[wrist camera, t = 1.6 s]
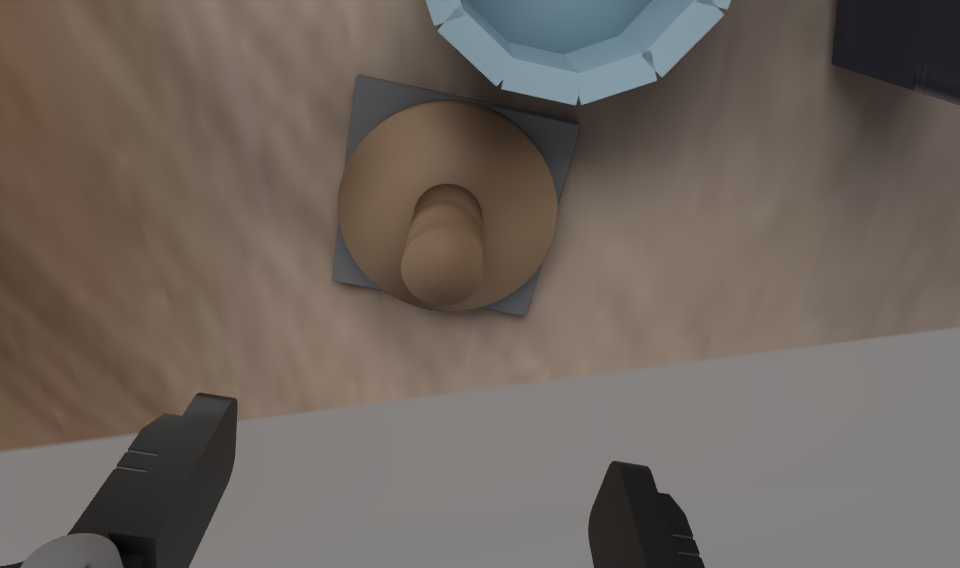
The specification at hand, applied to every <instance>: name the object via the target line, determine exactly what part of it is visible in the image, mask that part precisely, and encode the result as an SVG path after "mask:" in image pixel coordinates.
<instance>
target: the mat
mask: <svg viewBox="0 0 960 568" xmlns="http://www.w3.org/2000/svg"><path fill="white" fill-rule="evenodd" d="M433 100H460V101H467V102H472V103H476V104H479V105H483V106H486V107H488V108H490V109H492V110H495V111H497V112H499V113H501V114H502V115H504V116H506V117H507V118H509V119H511V120H512V121H513V122H514V123H516V124H517V125H518V126H519V127H521V128H522V129H523V130H524V131H525V132H526V133H527V134H528V135H529V136H530V138H531V139H532V140H533V141H534V142H535V144H536V145H537V147H538V148H539V150H540V151H541V153H542V155H543V157H544V159H545V160H546V162H547V165H548V168H549V170H550V173H551V176H552V179H553V182H554V186H555V191H556V196H557V207H558V203H559V200H560V196H561V193H562V189H563V186H564V182H565V179H566V175H567V172H568V168H569V165H570V161H571V158H572V154H573V151H574V147H575V144H576V140H577V137H578V133H579V130H580V124H579V122H575V121H570V120H566V119H561V118H557V117H552V116H547V115H543V114H538V113H533V112H529V111H524V110H520V109H515V108H510V107H506V106H501V105H496V104H492V103H487V102H483V101H478V100H473V99H469V98H464V97H459V96H455V95H450V94H446V93H441V92H436V91H432V90H427V89H422V88H418V87H413V86H409V85H404V84H399V83H395V82H390V81H385V80H381V79H376V78H372V77H367V76H362V75H358V76H357V77H356V83H355V91H354V99H353V108H352V116H351V124H350V133H349V141H348V149H347V158H346V166H347V164H348V162H349V160H350V158H351V157H352V155H353V153H354V151H355V150H356V148H357V147H358V145H359V144H360V143H361V141H362V140H363V138H364V137H365V136H366V135H367V134H368V133H369V132H370V131H371V130H372V129H373V128H374V127H375V126H376V125H377V124H378V123H380V122H381V121H382V120H384V119H385V118H386V117H388V116H390V115H391V114H393V113H395V112H397V111H398V110H401V109H403V108H406V107H408V106H411V105H414V104H418V103H422V102H425V101H433ZM346 166H345V168H346ZM540 267H541V265H540V266H539V268H538V269H537V271H536V272H535V273H534V274H533V275H532V276H531V277H530V278H529V280H528V281H527V282H525V283H524V284H523V285H522V286H521V287H519V288H518V289H517V290H516V291H514V292H513V293H511V294H509V295H508V296H506V297H504V298H502V299H500V300H498V301H496V302H494V303H491V304H488V305H486V306H483V307H479V308H485V309H490V310H496V311H501V312H506V313H512V314H517V315H523V316H527V312H528V309H529V305H530V302H531V298H532V295H533V291H534V288H535V284H536V281H537V277H538V274H539V270H540ZM332 281H337V282H343V283H348V284H354V285H359V286H365V287H370V288H375V289H381V288H380V287H378V286H377V285H376V284H375V283H374V282H373V281H371V280H370V279H369V278H368V277H367V276H366V274H365V273H364V272H363V271H362V270H361V269H360V267H359V266H358V265H357V263H356V262H355V261H354V259H353V257H352V256H351V254H350V252H349V250H348V248H347V246H346V243H345V241H344V238H343V235H342V232H341V227H340V223H339V224H338V233H337V241H336V249H335V258H334V266H333V274H332ZM381 290H382V289H381Z"/></svg>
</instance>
